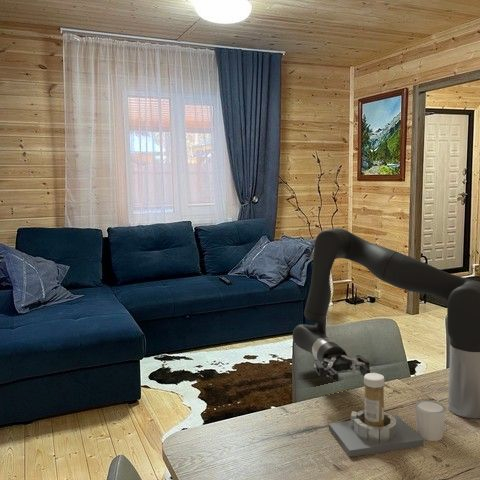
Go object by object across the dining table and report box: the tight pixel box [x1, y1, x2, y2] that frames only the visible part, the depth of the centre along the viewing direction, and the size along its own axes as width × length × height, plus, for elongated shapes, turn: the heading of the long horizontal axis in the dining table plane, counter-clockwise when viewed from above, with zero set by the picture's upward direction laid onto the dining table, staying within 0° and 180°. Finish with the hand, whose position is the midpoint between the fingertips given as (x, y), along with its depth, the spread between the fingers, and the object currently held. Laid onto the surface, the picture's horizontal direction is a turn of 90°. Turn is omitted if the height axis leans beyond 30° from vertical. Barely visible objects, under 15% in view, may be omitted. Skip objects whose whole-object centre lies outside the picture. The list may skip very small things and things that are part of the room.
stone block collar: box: [350, 409, 396, 442], centre depth 113 cm, size 9×10×3 cm
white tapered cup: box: [414, 399, 447, 442], centre depth 113 cm, size 7×7×7 cm
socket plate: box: [328, 413, 425, 458], centre depth 113 cm, size 18×12×2 cm, turn 101°
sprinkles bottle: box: [363, 372, 385, 427], centre depth 112 cm, size 5×5×14 cm
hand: (352, 376), depth 123 cm, fingers open, 8 cm apart
